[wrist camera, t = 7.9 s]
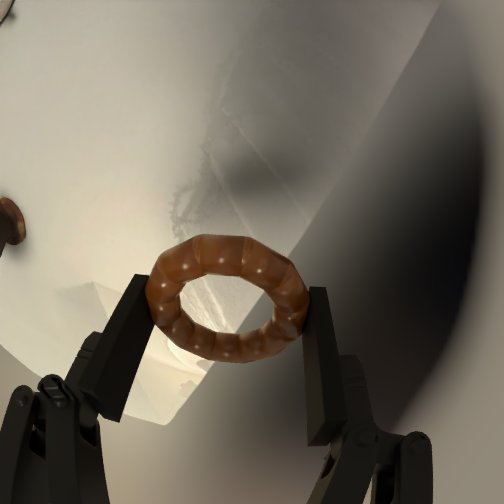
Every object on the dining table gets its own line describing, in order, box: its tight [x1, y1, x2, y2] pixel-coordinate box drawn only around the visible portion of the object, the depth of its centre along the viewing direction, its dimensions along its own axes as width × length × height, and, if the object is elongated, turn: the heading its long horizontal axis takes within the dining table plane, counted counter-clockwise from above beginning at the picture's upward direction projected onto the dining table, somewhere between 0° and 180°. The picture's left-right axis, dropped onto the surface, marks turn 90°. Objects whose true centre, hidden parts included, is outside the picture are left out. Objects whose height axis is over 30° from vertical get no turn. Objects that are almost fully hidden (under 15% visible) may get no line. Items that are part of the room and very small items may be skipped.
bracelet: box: [145, 234, 310, 363], centre depth 13 cm, size 8×8×2 cm
